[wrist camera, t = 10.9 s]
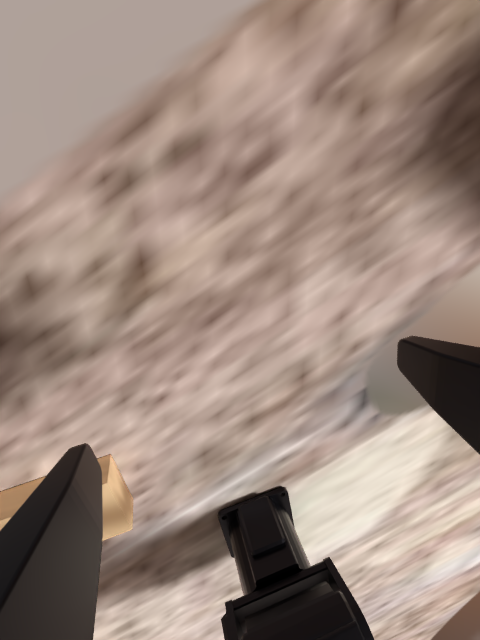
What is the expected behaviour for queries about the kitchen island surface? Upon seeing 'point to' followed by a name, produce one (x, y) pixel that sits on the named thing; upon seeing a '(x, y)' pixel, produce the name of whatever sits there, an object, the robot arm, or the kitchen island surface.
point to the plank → (113, 495)
